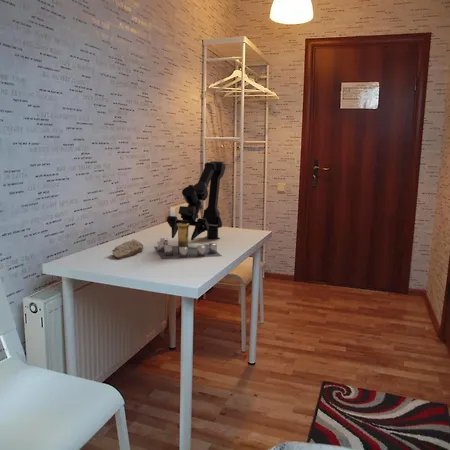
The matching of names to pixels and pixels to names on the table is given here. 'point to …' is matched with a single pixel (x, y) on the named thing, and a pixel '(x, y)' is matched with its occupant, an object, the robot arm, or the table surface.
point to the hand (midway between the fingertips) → (181, 238)
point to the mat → (191, 253)
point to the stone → (127, 249)
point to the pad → (194, 245)
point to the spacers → (184, 249)
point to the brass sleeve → (183, 234)
